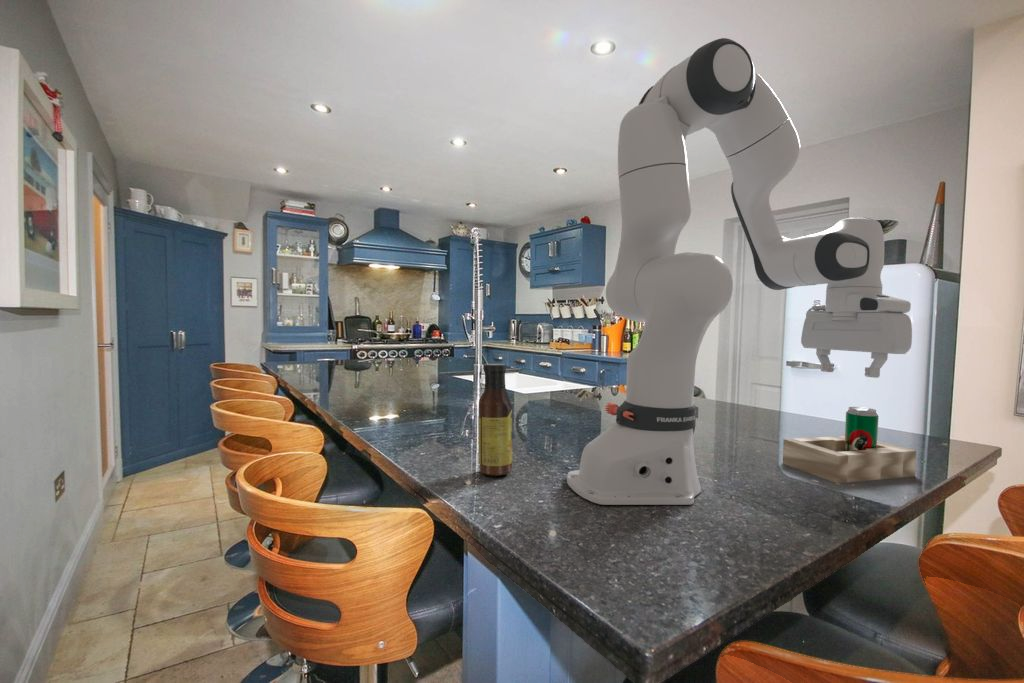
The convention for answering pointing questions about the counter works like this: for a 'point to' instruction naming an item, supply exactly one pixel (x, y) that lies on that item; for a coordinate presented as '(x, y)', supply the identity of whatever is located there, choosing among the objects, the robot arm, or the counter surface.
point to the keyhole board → (848, 459)
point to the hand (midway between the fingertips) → (848, 374)
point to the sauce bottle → (495, 423)
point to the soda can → (861, 429)
